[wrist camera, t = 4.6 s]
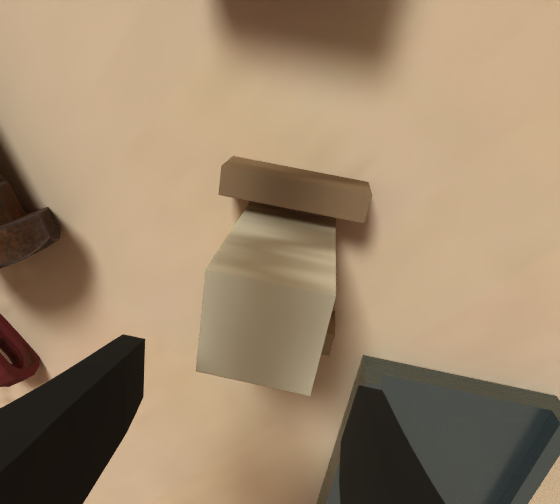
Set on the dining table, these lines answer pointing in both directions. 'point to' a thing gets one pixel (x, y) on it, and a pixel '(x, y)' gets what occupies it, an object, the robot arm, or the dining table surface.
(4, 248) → the bolt
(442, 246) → the dining table surface
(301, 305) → the peg
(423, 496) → the robot arm
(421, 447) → the tray
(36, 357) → the pipe wrench
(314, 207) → the socket
